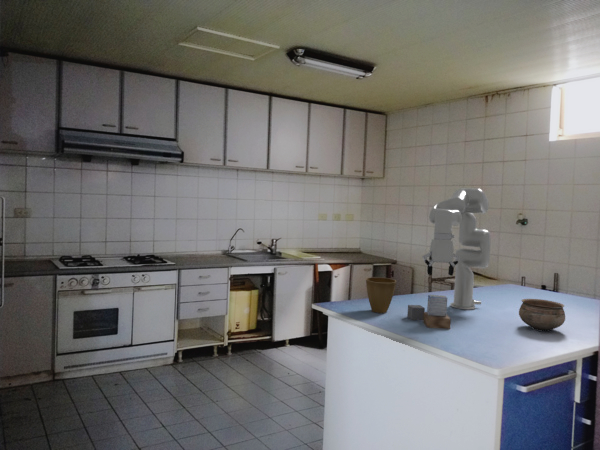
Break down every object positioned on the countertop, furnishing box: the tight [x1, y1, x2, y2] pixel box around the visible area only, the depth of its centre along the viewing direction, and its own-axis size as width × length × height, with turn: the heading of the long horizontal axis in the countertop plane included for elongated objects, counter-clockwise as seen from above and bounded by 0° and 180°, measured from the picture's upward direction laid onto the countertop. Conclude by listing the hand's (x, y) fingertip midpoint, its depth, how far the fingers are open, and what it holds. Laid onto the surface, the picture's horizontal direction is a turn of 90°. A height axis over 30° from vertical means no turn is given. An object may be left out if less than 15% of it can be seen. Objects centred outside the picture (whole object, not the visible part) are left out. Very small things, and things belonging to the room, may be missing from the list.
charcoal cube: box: [406, 304, 426, 322], centre depth 227 cm, size 6×6×6 cm
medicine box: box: [426, 294, 449, 316], centre depth 217 cm, size 8×4×9 cm, turn 85°
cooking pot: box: [518, 298, 566, 332], centre depth 218 cm, size 25×19×12 cm
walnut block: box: [422, 311, 452, 330], centre depth 217 cm, size 10×10×5 cm
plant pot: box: [365, 276, 397, 314], centre depth 238 cm, size 15×15×16 cm
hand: (440, 274), depth 216 cm, fingers open, 9 cm apart
